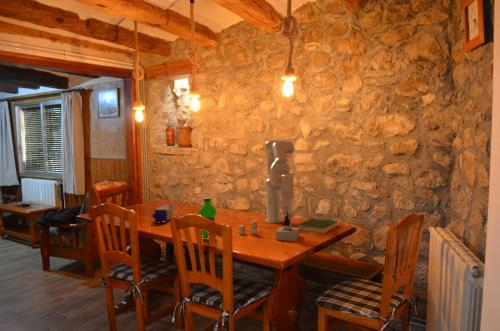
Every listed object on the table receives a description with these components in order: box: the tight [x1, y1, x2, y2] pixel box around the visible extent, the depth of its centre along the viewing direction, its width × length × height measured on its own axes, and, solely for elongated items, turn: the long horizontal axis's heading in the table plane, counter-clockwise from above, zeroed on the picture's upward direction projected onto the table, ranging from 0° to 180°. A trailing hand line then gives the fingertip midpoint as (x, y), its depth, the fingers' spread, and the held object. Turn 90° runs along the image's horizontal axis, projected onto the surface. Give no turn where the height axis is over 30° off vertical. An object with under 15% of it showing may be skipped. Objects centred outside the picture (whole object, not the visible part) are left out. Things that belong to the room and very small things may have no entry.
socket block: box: [275, 226, 300, 242], centre depth 226 cm, size 12×12×5 cm
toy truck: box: [151, 204, 174, 224], centre depth 278 cm, size 10×25×10 cm, turn 179°
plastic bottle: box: [198, 197, 217, 239], centre depth 224 cm, size 10×10×25 cm
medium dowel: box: [250, 220, 258, 236], centre depth 235 cm, size 4×4×8 cm
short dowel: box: [238, 224, 246, 236], centre depth 237 cm, size 4×4×5 cm
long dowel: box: [283, 212, 292, 231], centre depth 225 cm, size 4×4×14 cm
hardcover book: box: [296, 217, 339, 234], centre depth 250 cm, size 25×19×4 cm
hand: (287, 224), depth 225 cm, fingers closed on long dowel, 4 cm apart
